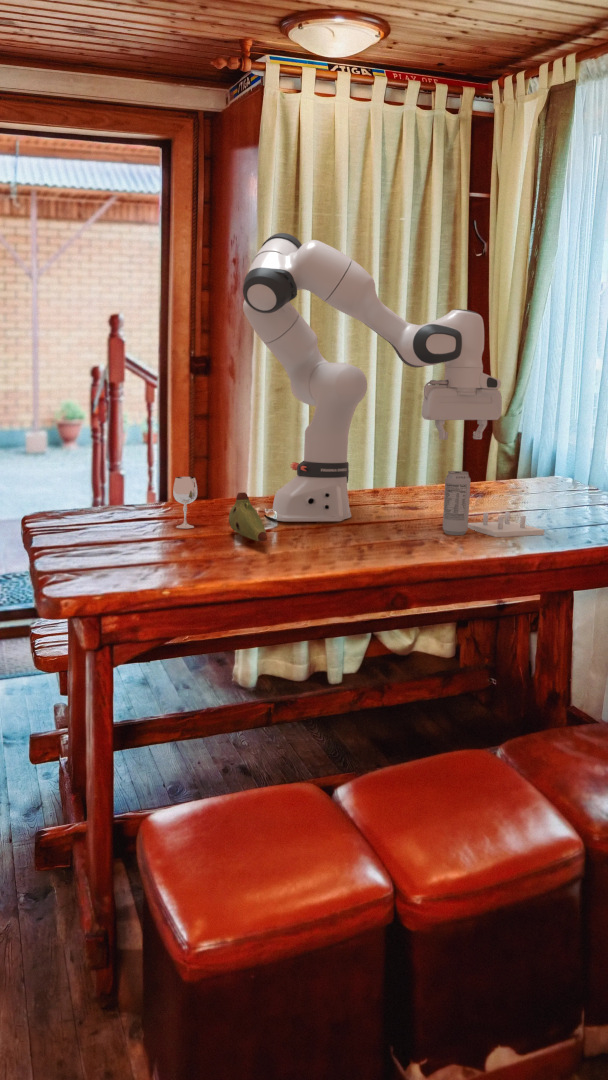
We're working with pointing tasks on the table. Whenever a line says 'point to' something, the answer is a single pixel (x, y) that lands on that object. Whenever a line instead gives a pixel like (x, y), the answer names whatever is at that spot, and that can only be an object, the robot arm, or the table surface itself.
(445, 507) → the energy drink can
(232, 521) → the green banana
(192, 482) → the wineglass
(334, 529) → the table surface
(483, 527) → the grey peg board
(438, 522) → the table surface
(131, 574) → the table surface
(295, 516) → the robot arm
